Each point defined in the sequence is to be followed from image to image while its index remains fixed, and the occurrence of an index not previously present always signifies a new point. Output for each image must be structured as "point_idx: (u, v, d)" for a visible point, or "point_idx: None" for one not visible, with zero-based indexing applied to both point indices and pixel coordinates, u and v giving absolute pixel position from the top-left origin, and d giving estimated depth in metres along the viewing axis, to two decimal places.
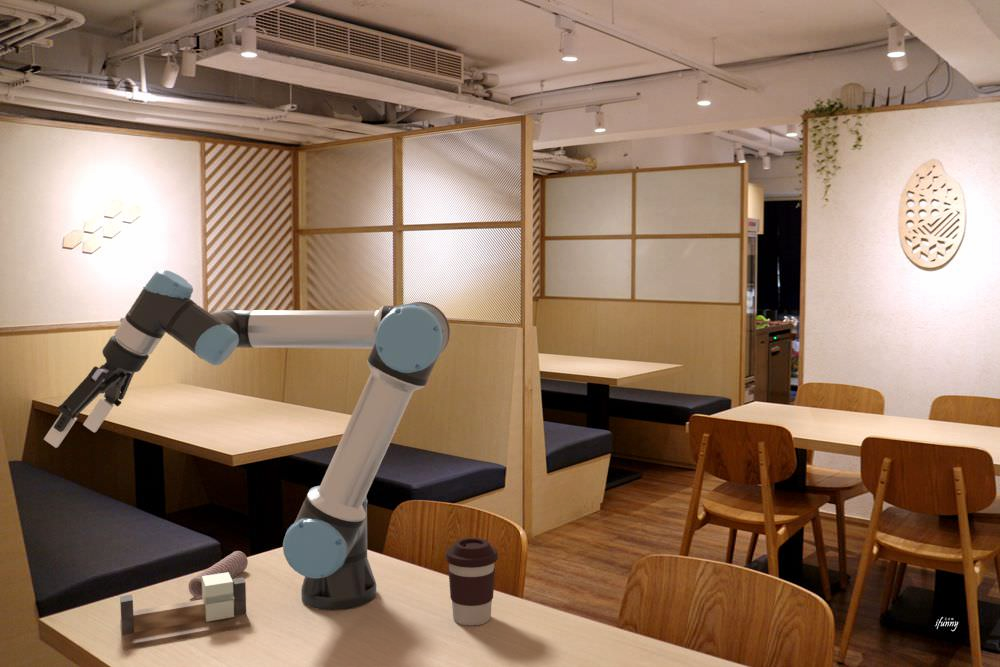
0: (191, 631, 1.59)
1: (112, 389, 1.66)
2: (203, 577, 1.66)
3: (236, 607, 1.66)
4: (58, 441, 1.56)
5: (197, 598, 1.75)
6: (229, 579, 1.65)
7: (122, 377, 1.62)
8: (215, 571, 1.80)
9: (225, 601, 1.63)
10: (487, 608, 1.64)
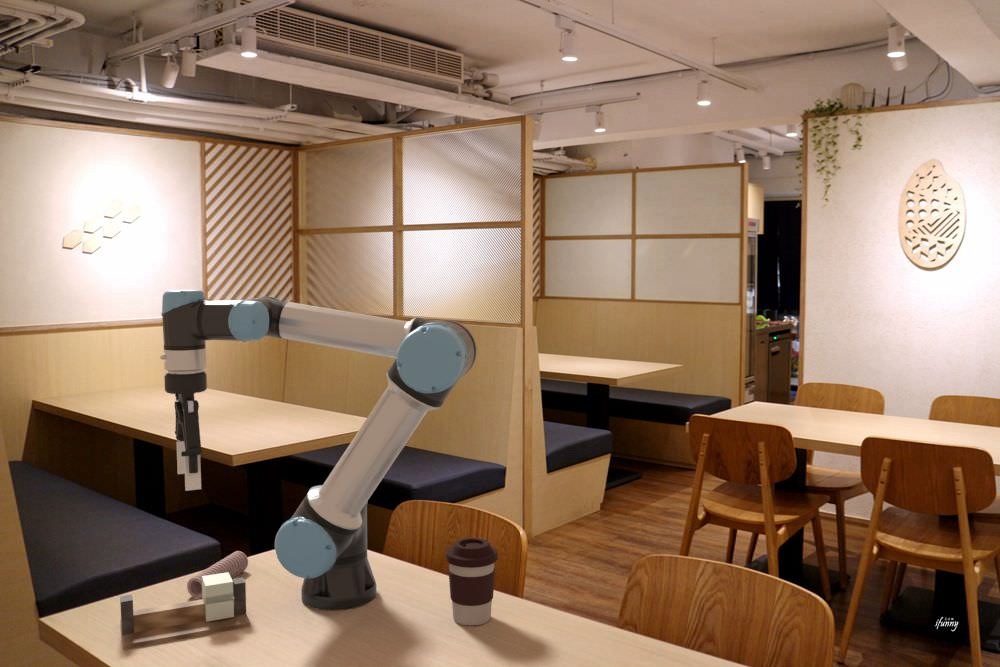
0: (191, 631, 1.59)
1: None
2: (203, 577, 1.66)
3: (236, 607, 1.66)
4: (199, 482, 1.59)
5: (195, 598, 1.75)
6: (229, 579, 1.65)
7: None
8: (214, 571, 1.80)
9: (225, 601, 1.63)
10: (487, 608, 1.64)
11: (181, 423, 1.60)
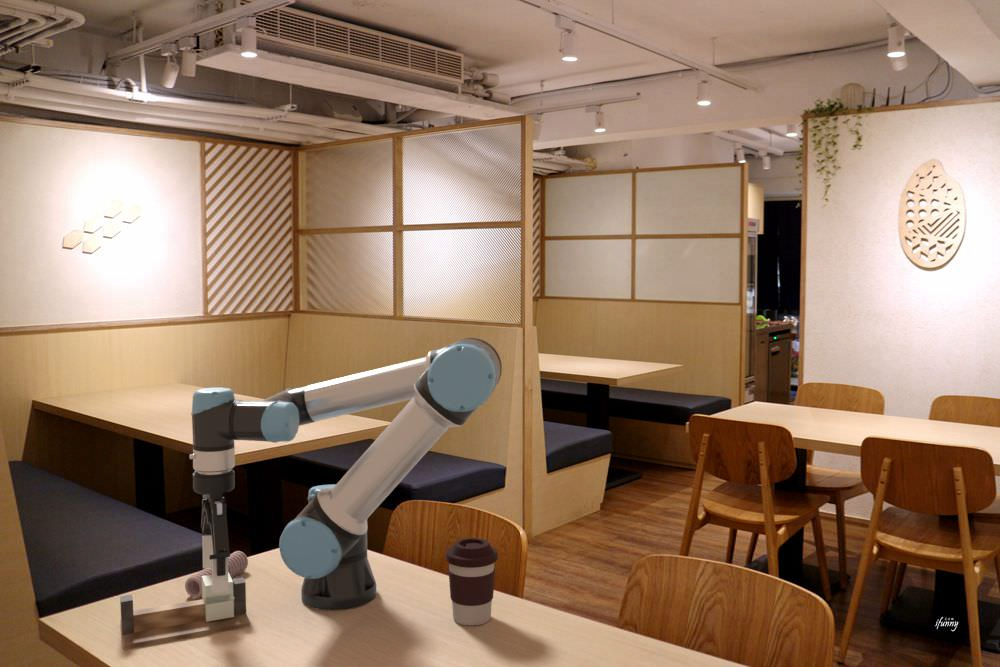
0: (191, 631, 1.59)
1: None
2: (203, 577, 1.66)
3: (236, 607, 1.66)
4: (226, 584, 1.59)
5: (193, 597, 1.76)
6: (229, 579, 1.65)
7: (223, 501, 1.65)
8: None
9: (225, 601, 1.63)
10: (487, 608, 1.64)
11: (209, 524, 1.60)
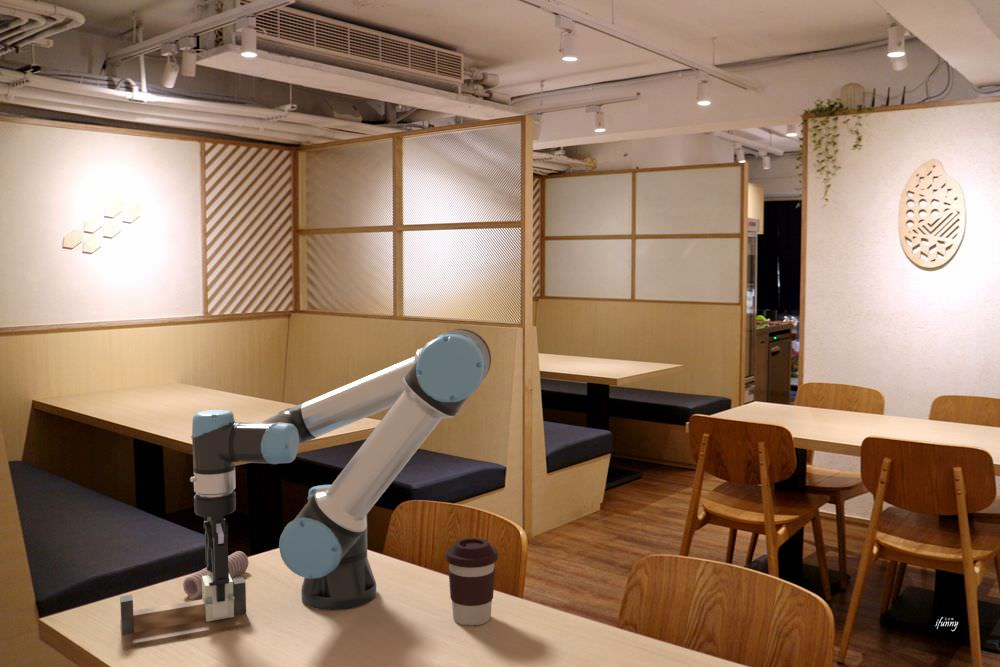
0: (191, 631, 1.59)
1: None
2: (203, 577, 1.66)
3: (236, 607, 1.66)
4: (226, 609, 1.63)
5: (190, 597, 1.76)
6: (229, 579, 1.65)
7: (224, 521, 1.66)
8: None
9: None
10: (487, 608, 1.64)
11: (210, 548, 1.62)
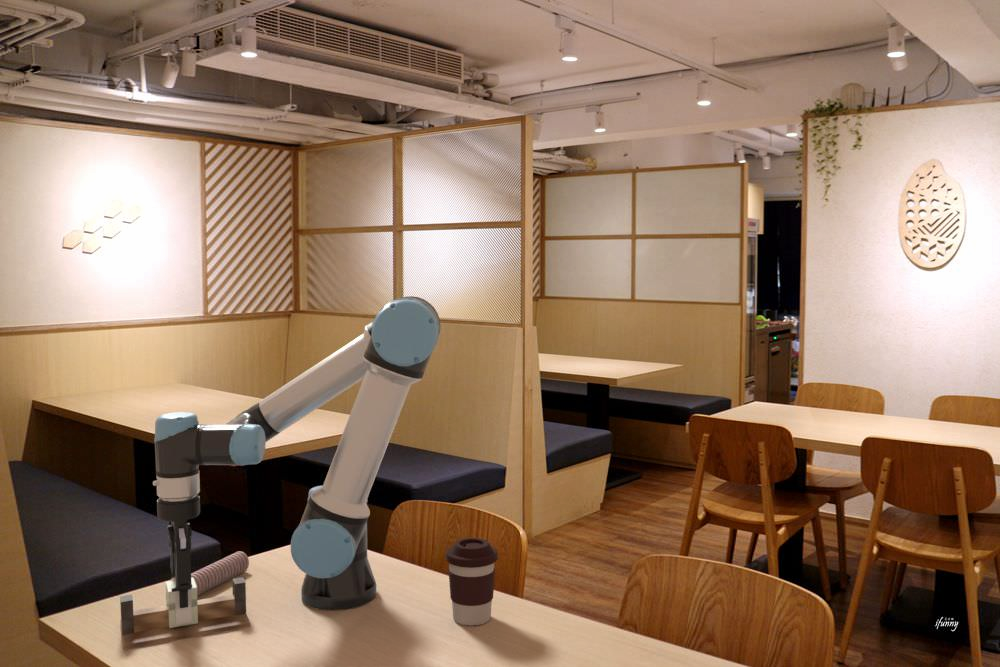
0: (191, 631, 1.59)
1: None
2: (167, 582, 1.63)
3: (236, 607, 1.66)
4: (190, 615, 1.60)
5: None
6: (193, 585, 1.62)
7: (188, 526, 1.63)
8: (209, 571, 1.80)
9: None
10: (487, 608, 1.64)
11: (173, 553, 1.59)
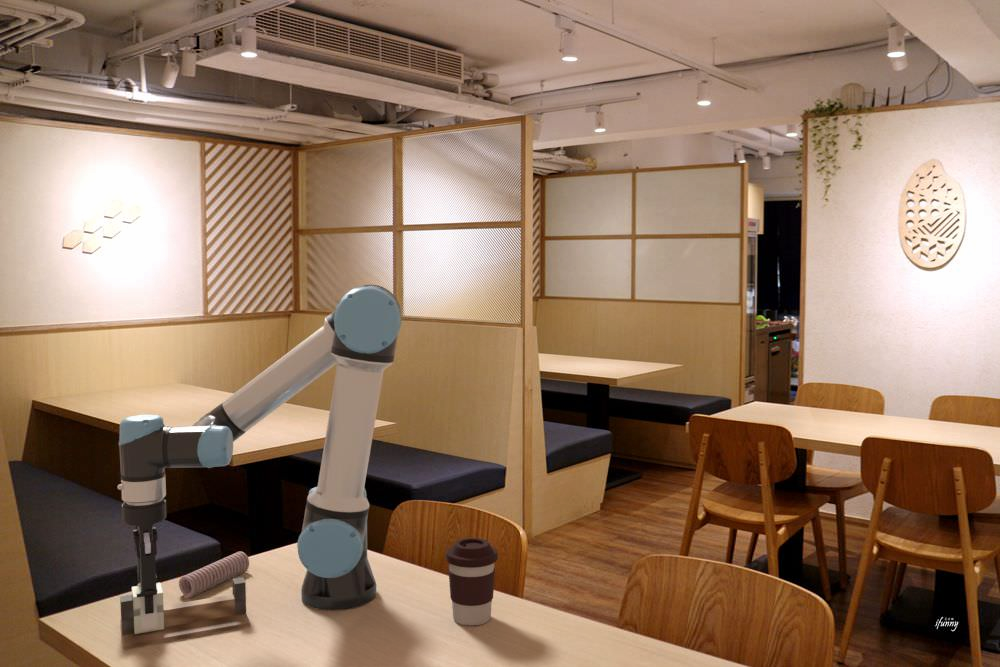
0: (191, 631, 1.59)
1: None
2: (133, 588, 1.60)
3: (236, 607, 1.66)
4: (155, 621, 1.57)
5: (185, 596, 1.76)
6: (159, 590, 1.59)
7: (154, 530, 1.60)
8: (207, 571, 1.80)
9: None
10: (487, 608, 1.64)
11: (138, 558, 1.56)
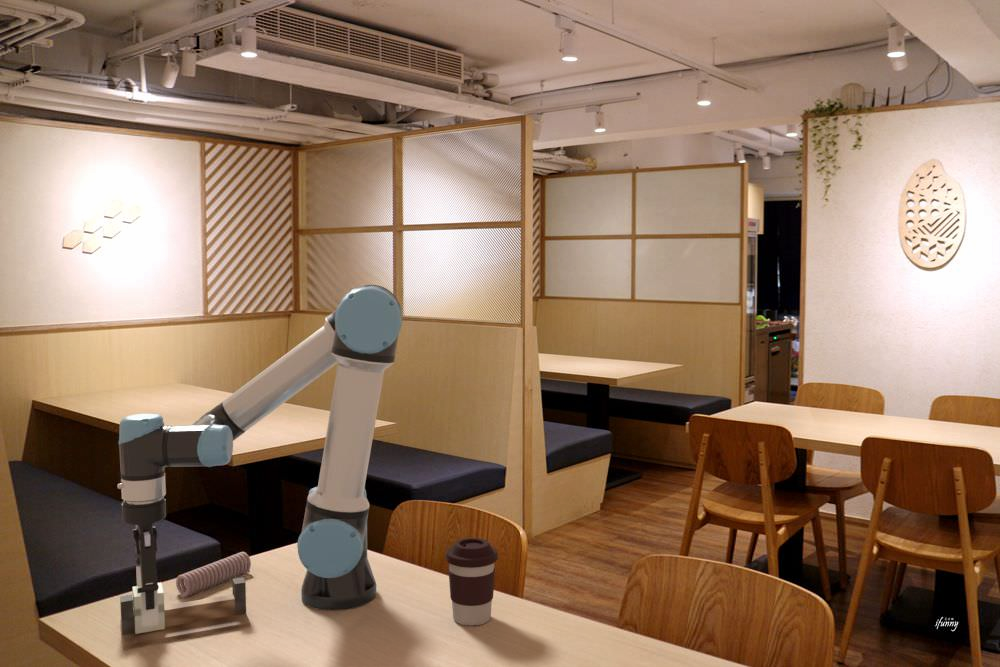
0: (191, 631, 1.59)
1: None
2: (134, 587, 1.60)
3: (236, 607, 1.66)
4: (156, 617, 1.54)
5: (181, 596, 1.77)
6: (160, 590, 1.59)
7: (154, 530, 1.60)
8: (205, 570, 1.81)
9: None
10: (487, 608, 1.64)
11: (138, 555, 1.55)
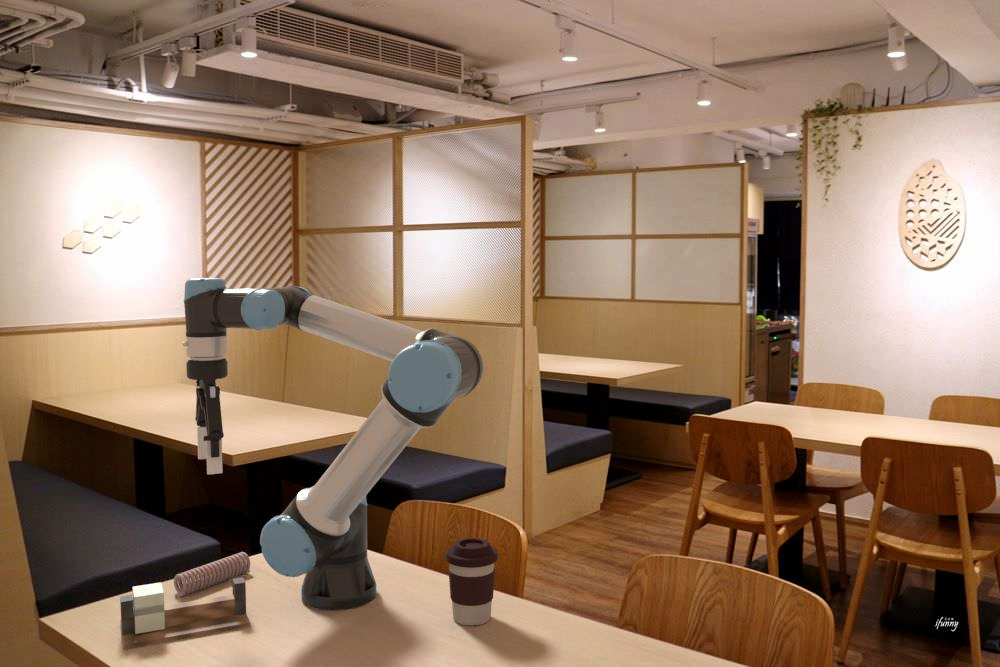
0: (191, 631, 1.59)
1: None
2: (134, 587, 1.60)
3: (236, 607, 1.66)
4: (221, 466, 1.63)
5: (178, 595, 1.77)
6: (160, 590, 1.59)
7: None
8: (203, 570, 1.81)
9: (155, 612, 1.58)
10: (487, 608, 1.64)
11: (203, 408, 1.64)
